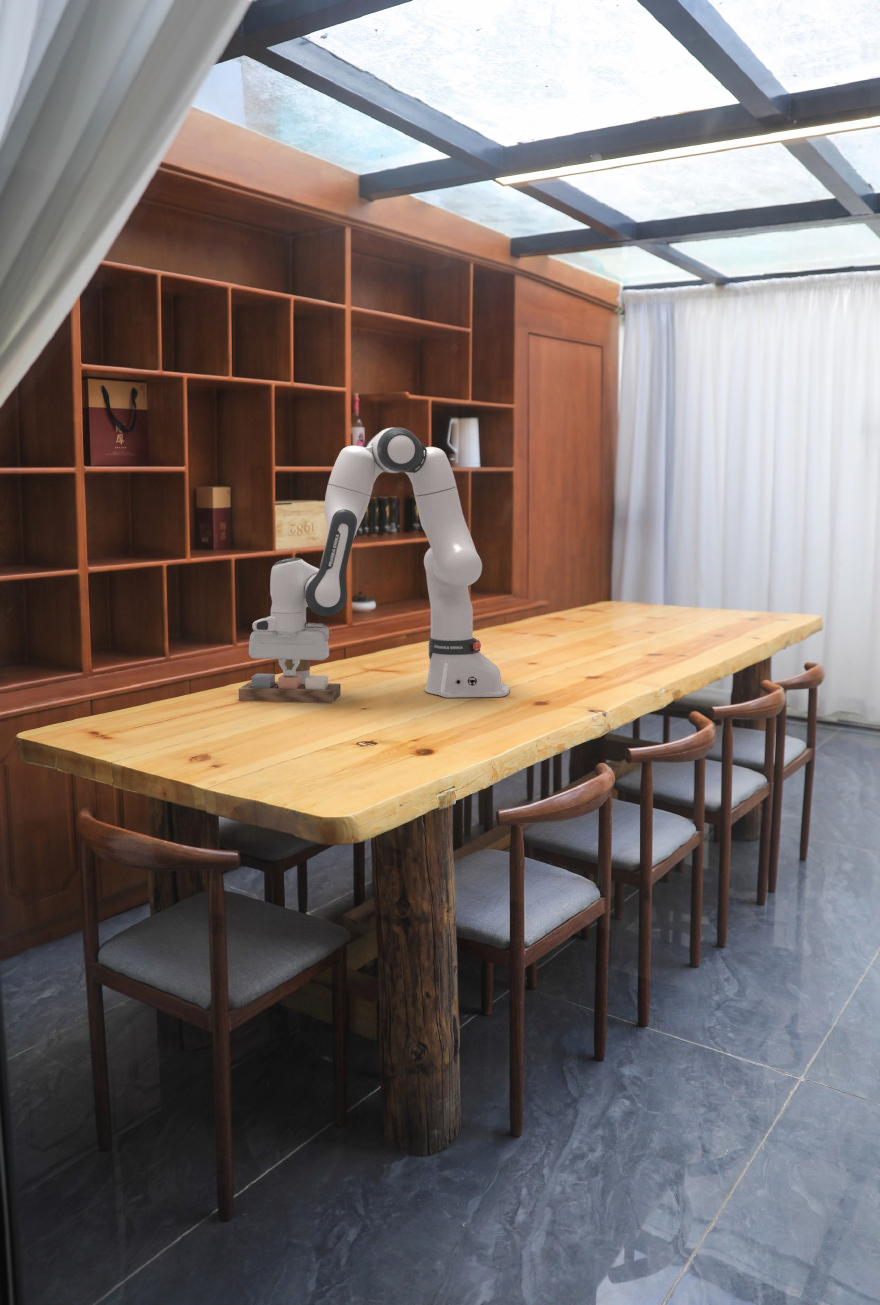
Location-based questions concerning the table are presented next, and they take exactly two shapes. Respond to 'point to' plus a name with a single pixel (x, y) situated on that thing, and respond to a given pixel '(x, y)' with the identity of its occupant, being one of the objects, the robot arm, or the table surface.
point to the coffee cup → (300, 668)
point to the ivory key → (317, 682)
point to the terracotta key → (290, 682)
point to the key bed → (290, 694)
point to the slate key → (263, 681)
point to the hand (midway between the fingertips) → (289, 676)
